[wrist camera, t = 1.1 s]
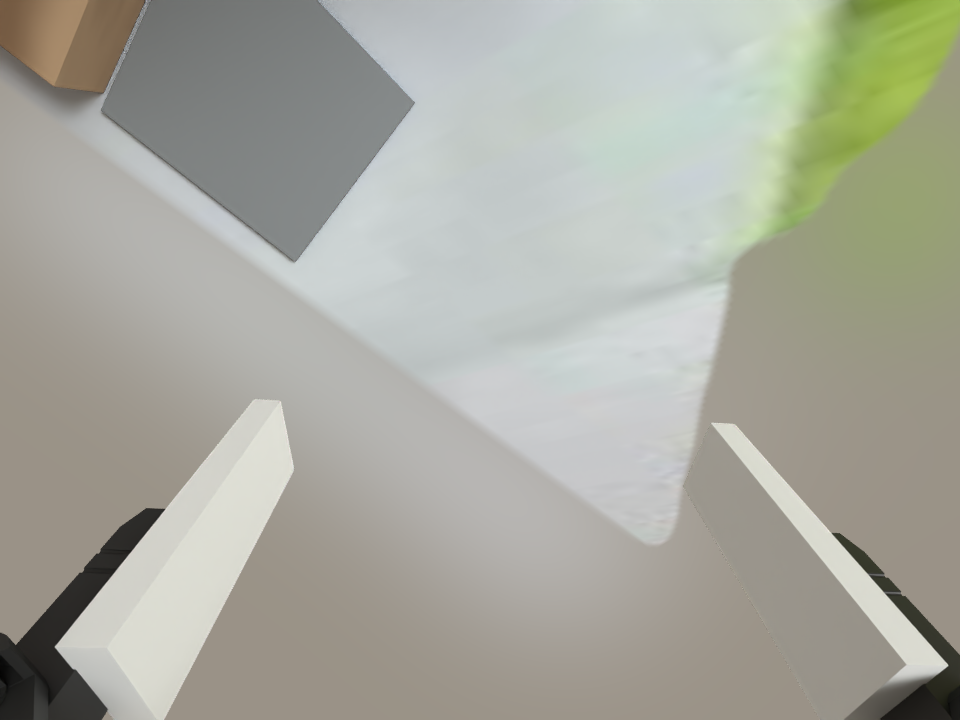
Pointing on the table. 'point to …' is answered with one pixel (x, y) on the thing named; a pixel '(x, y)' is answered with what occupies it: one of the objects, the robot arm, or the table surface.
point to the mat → (257, 107)
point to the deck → (68, 38)
